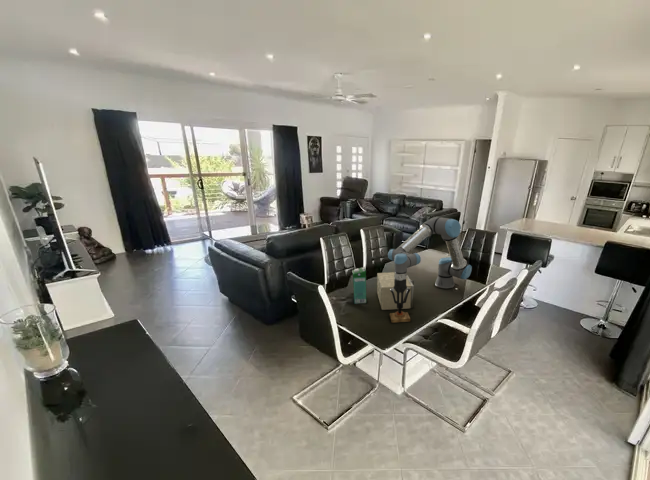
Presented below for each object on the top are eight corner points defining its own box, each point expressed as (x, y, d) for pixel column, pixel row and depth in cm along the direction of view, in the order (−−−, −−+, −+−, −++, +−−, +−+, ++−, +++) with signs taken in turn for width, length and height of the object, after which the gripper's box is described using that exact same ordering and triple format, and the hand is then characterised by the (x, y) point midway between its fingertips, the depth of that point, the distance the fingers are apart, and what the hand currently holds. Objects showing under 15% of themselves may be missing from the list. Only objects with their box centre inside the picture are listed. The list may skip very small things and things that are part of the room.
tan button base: (407, 315, 214) (407, 309, 213) (410, 321, 206) (410, 316, 204) (389, 316, 213) (389, 310, 211) (391, 322, 205) (391, 317, 203)
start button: (402, 313, 210) (402, 311, 210) (403, 316, 207) (403, 314, 206) (396, 314, 210) (396, 311, 209) (397, 316, 206) (397, 314, 206)
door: (412, 295, 243) (412, 275, 236) (418, 307, 224) (419, 285, 217) (405, 296, 242) (405, 275, 236) (410, 308, 223) (411, 286, 217)
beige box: (406, 292, 249) (406, 271, 243) (413, 308, 223) (414, 285, 217) (377, 293, 247) (377, 273, 241) (381, 310, 221) (381, 287, 215)
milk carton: (353, 298, 240) (352, 266, 230) (365, 297, 240) (365, 266, 231) (354, 303, 231) (352, 271, 222) (366, 303, 232) (365, 270, 223)
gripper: (390, 281, 195) (390, 315, 203) (412, 280, 196) (410, 314, 205) (389, 277, 202) (388, 310, 210) (409, 276, 203) (408, 309, 212)
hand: (399, 312), depth 208 cm, fingers closed
